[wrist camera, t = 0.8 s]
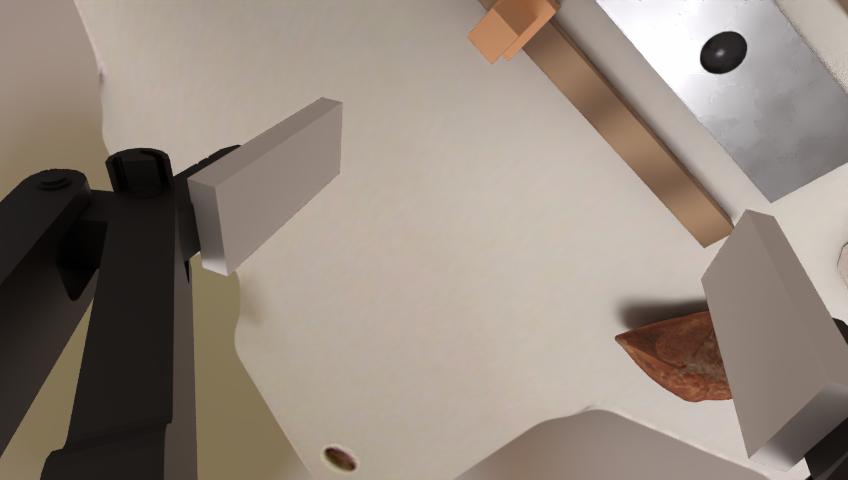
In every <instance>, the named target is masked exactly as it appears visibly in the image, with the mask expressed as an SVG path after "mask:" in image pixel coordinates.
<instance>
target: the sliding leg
mask: <svg viewBox="0 0 848 480" xmlns="http://www.w3.org/2000/svg"><path fill="white" fill-rule="evenodd" d="M559 9H560V6H559V5H558V3H557V2H556V1H555V0H498V1H497V3H496V4H495V5H494V6H493V7H492V8H491V9H490V11H489V12H488V13H487V14H486V15H485V16H484V17H483V19H482V20H481V21H480V22H479V23H478V24H477V25H476V27H475V28H474V29H473V30H472V31H471V33H470V34H469V35H468V36H467V38H468V39H469V40H470V41H471V42H472V44H473V45H474V46H475V47H476V48H477V49H478V50H479V51H480V52H481V53H482V54H483V55H484V56H485V58H486V59H487V60H488V61H489V62H490V63H491V64H493V63H494V62H495V61H496V60H497V59H498V58H499V57H500V56H501V55H503V56H504V57H505V58H506V59H507V60H508V61H509V60H510V59H511V58H512V57H513V56H514V55H515V54H516V53H517V52H518V51H519V50H520V49H521V48H522V47H523V46H524V45H525V44H526V43H527V42H528V41H529V40H530V39H531V38H532V37H533V36H534V34H535V33H536V32H537V31H538V30H539V29H540V28H541V27H542V26H543V25H544V24H545V23H546V22H547V21H548V20H549V19H550V18H551V17H552V16H553V15H554V14H555V13H556V12H557V11H558V10H559Z"/></svg>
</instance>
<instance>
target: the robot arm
mask: <svg viewBox="0 0 848 480" xmlns="http://www.w3.org/2000/svg"><path fill="white" fill-rule="evenodd" d="M341 128H342V102H339V101H335V100H331V99H327V98H324V97H322V98H320V99H319V100H317V101H315V102H314V103H312V104H310V105H309V106H307V107H305V108H304V109H302V110H300V111H299V112H297V113H295V114H294V115H292V116H290V117H289V118H287V119H285V120H284V121H282V122H280V123H279V124H277V125H275V126H274V127H272V128H270V129H269V130H267V131H265V132H264V133H262V134H260V135H259V136H257V137H255V138H254V139H252V140H250V141H249V142H247V143H245V144H244V145H242V146H241V145H234V146H231V147H227V148H224V149H220V150H219V151H217V152H215V153H214V154H212V155H210V156H209V157H208V158H205V159H203V160H201V161H200V162H199V163H198V164H195V165H193V166H191V167H189V168H188V169H186V170H184V171H182V172H181V173H179V174H177V175H175V176H174V177H173V174H172V169H171V164H170V159H169V157H168V154H166V153H164V152H163V151H161V150H156V149H152V148H135V149H127V150H124V151H120V152H117V153H115V154H113V155H111V156H110V157H108V159H107V160H106V162H105V163H106V167H107V170H108V173H109V177H110V180H111V184H112V187H113V191H114V192H111V191H102V190H92V189H90V187H89V184H88V181H87V178H86V176H85V175H84V174H83V173H81V172H79V171H77V170H70V169H50V170H44V171H41V172H39V173H36V174H34V175H31V176H29V177H28V178H26V179H25V180H23V181H22V182H21V183H20V184H19V185H18V186H17V187H16V188H15V189H13V190H12V191H11V192H10V193H9V194H8V195H7V196H6V197H5V198H4V199H3V200H2V201H1V202H0V457H1V455H2V454H3V452H4V450H5V449H6V447H7V445H8V444H9V442H10V440H11V438H12V437H13V435H14V433H15V432H16V430H17V428H18V426H19V425H20V423H21V421H22V420H23V418H24V416H25V414H26V413H27V411H28V409H29V408H30V406H31V404H32V402H33V401H34V399H35V397H36V396H37V394H38V392H39V390H40V389H41V387H42V385H43V384H44V382H45V380H46V378H47V377H48V375H49V373H50V371H51V370H52V368H53V366H54V365H55V363H56V361H57V360H58V358H59V356H60V354H61V353H62V351H63V349H64V348H65V346H66V344H67V343H68V341H69V339H70V337H71V336H72V334H73V332H74V331H75V329H76V327H77V325H78V324H79V322H80V320H81V319H82V317H83V315H84V313H85V312H86V310H87V308H88V307H89V305H90V303H91V301H92V299H93V298H94V300H93V305H92V311H91V316H90V321H89V326H88V332H87V337H86V342H85V347H84V352H83V358H82V363H81V369H80V373H79V379H78V384H77V389H76V394H75V400H74V405H73V410H72V415H71V420H70V425H69V431H68V436H67V440H66V443H65V445H64V447H63V448H62V449H59V450H56V451H52V452H51V453H50V455H49V456H48V457H47V459H46V461H45V464H44V467H43V470H42V473H41V478H40V480H198V477H197V442H196V408H195V374H194V373H195V372H194V337H193V302H192V269H191V264H190V258H191V257H192V256H194V255H195V254H196V253H197V252H199V251H200V253H201V259H202V264H203V268H205V269H208V270H211V271H214V272H217V273H220V274H222V275H225V276H229V275H230V274H231V273H232V272H233V271H234V270H235V269H236V268H237V267H238V266H240V265H241V264H242V263H243V262H244V261H245V260H246V259H247V258H248V257H249V256H250V255H252V254H253V253H254V252H255V251H256V250H257V249H258V248H259V247H260V246H261V245H262V244H263V243H265V242H266V241H267V240H268V239H269V238H270V237H271V236H272V235H273V234H274V233H275V232H276V231H278V230H279V229H280V228H281V227H282V226H283V225H284V224H285V223H286V222H287V221H288V220H289V219H291V218H292V217H293V216H294V215H295V214H296V213H297V212H298V211H299V210H300V209H301V208H302V207H304V206H305V205H306V204H307V203H308V202H309V201H310V200H311V199H312V198H313V197H314V196H315V195H317V194H318V193H319V192H320V191H321V190H322V189H323V188H324V187H325V186H326V185H327V184H328V183H330V182H331V181H332V180H333V179H334V178H335V177H336V176H337V175H338V174H339V173H340V155H341ZM701 281H702V284H703V288H704V292H705V296H706V299H707V303H708V307H709V311H710V315H711V318H712V322H713V326H714V330H715V333H716V337H717V341H718V345H719V349H720V352H721V356H722V360H723V364H724V367H725V371H726V375H727V379H728V383H729V386H730V390H731V394H732V398H733V402H734V405H735V409H736V413H737V417H738V420H739V424H740V428H741V432H742V436H743V439H744V443H745V447H746V451H747V454H748V458H749V459H750V460H752V461H755V462H758V463H761V464H764V465H767V466H770V467H772V468H775V469H778V470H781V471H784V472H787V471H789V470H790V469H791V468H792V467H793V466H794V465H796V464H797V463H798V462H799V461H800V460H802V459H803V458H804V457H805V460H806V463H807V465H808V468H809V471H810V473H811V475H810V476H809V477H807V478H806V479H805V480H848V325H846V324H845V323H844V322H843V321H842V320H839V319H835V318H832V317H831V315H830V314H829V312H828V310H827V308H826V307H825V305H824V303H823V301H822V300H821V298H820V296H819V294H818V293H817V291H816V289H815V287H814V286H813V284H812V282H811V280H810V279H809V277H808V275H807V273H806V272H805V270H804V268H803V266H802V265H801V263H800V261H799V259H798V258H797V256H796V254H795V252H794V251H793V249H792V247H791V245H790V244H789V242H788V240H787V238H786V237H785V235H784V233H783V231H782V230H781V228H780V226H779V224H778V223H777V221H776V219H775V217H774V216H770V215H766V214H763V213H759V212H755V211H751V210H747V209H746V210H745V212H744V214H743V215H742V217H741V218H740V220H739V221H738V223H737V224H736V226H735V227H734V229H733V230H732V232H731V234H730V235H729V237H728V238H727V240H726V241H725V243H724V244H723V246H722V247H721V249H720V250H719V252H718V254H717V255H716V257H715V258H714V260H713V261H712V263H711V264H710V266H709V267H708V269H707V271H706V272H705V274H704V275H703V277H702V278H701Z"/></svg>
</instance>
